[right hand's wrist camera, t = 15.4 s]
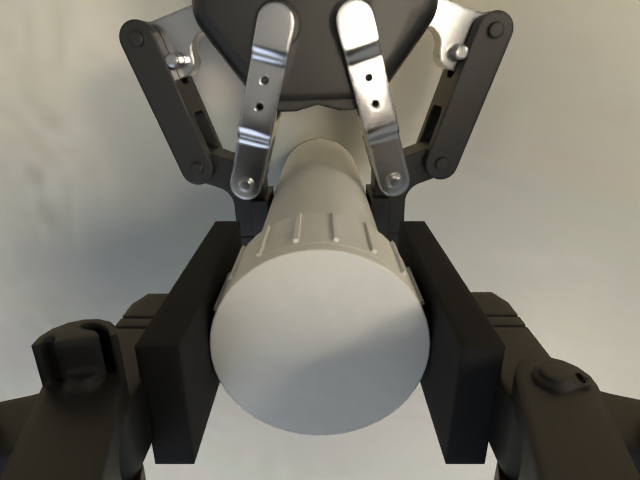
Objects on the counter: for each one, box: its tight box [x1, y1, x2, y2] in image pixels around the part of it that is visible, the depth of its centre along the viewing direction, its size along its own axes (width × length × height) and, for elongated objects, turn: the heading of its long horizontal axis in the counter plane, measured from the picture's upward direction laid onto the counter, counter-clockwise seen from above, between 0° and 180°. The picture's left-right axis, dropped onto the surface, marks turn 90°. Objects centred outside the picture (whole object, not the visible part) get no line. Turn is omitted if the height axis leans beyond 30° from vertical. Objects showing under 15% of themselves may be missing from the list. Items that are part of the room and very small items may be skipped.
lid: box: [210, 211, 430, 435], centre depth 11 cm, size 5×5×2 cm
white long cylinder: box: [262, 139, 378, 231], centre depth 18 cm, size 4×4×16 cm
